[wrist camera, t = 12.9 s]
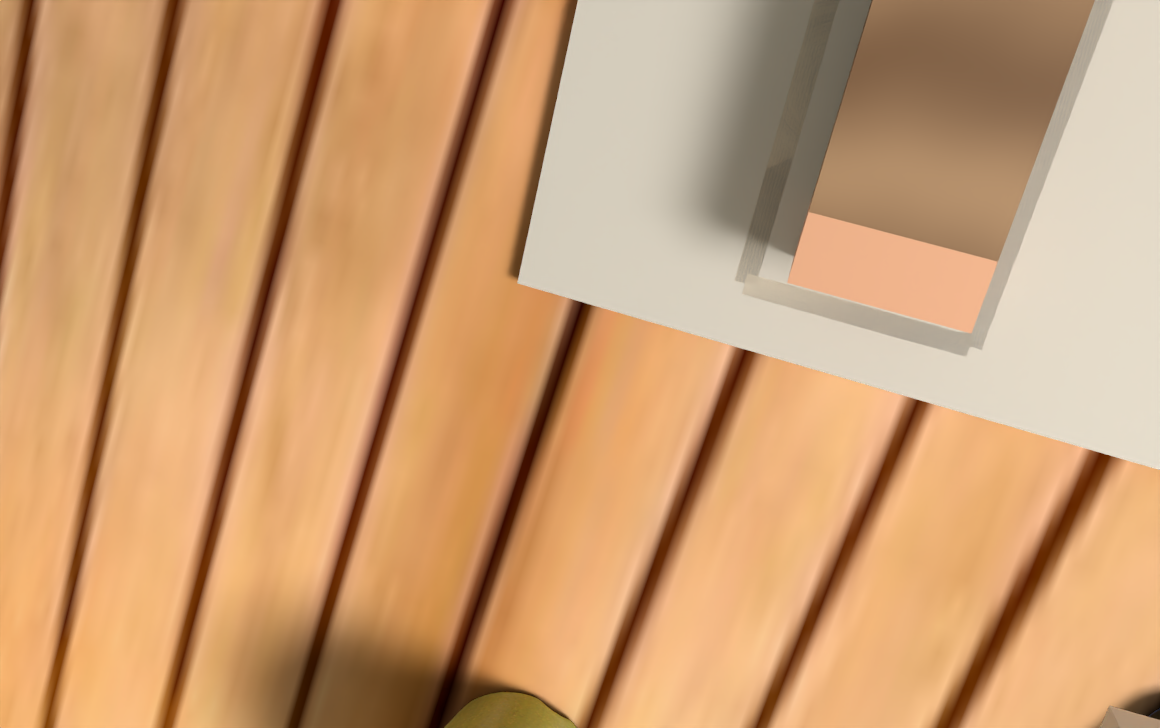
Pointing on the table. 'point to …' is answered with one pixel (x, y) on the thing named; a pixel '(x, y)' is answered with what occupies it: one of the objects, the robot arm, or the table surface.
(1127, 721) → the robot arm
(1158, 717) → the handheld game console
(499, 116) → the table surface
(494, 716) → the plant pot
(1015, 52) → the walnut block
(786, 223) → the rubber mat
